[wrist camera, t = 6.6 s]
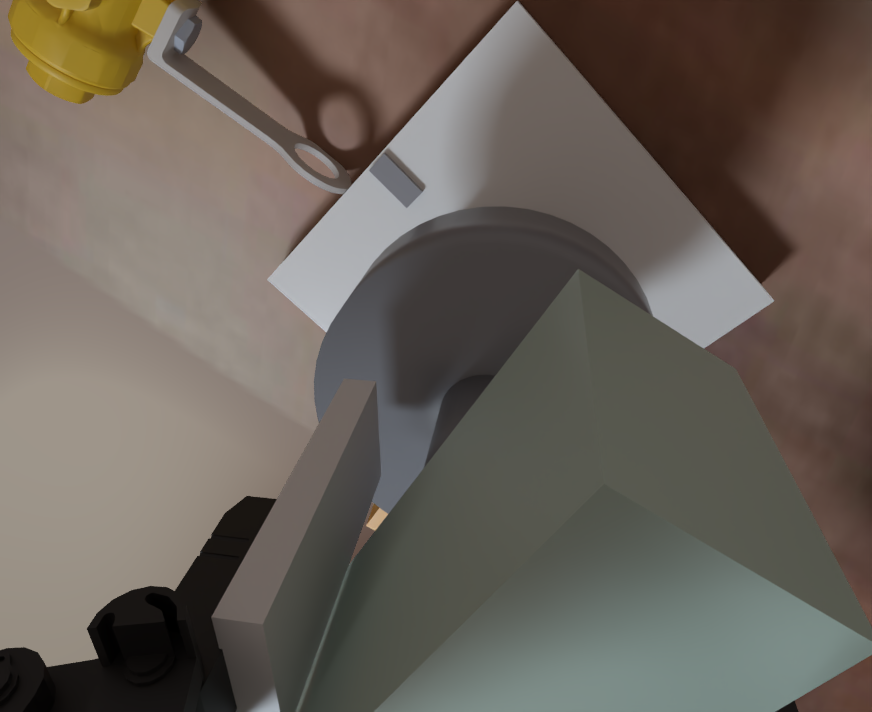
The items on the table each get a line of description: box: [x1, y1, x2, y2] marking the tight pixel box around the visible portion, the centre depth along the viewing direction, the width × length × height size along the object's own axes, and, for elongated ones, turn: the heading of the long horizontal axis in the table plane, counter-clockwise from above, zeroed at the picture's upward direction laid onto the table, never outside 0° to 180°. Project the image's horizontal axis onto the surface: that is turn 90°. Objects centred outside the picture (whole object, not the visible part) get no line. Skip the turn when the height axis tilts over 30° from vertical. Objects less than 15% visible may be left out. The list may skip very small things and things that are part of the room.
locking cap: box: [296, 206, 872, 712], centre depth 13 cm, size 12×9×12 cm
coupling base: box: [267, 1, 774, 348], centre depth 21 cm, size 13×13×6 cm
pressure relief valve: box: [8, 0, 351, 194], centre depth 20 cm, size 6×12×10 cm
